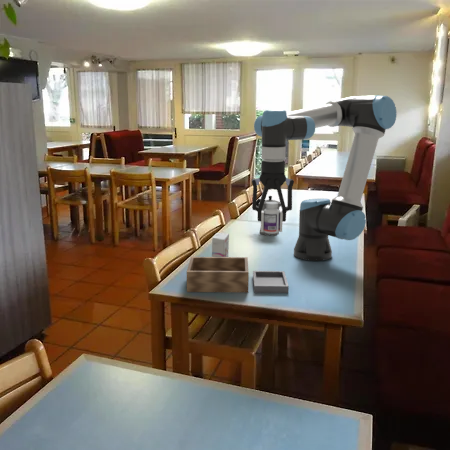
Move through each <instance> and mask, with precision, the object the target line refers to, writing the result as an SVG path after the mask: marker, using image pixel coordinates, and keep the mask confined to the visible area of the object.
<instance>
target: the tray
mask: <svg viewBox="0 0 450 450" xmlns="http://www.w3.org/2000/svg"><path fill="white" fill-rule="evenodd" d="M287 279H288V278H287V276H286V272H285V270H253V271H252V281H253V291H254V293H256V294H257V293H261V294H262V293H263V294H267V293H268V294H271V293H272V294H288V293H289V288H290V287H289V283H288V280H287Z"/></svg>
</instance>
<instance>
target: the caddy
mask: <svg viewBox="0 0 450 450" xmlns="http://www.w3.org/2000/svg"><path fill="white" fill-rule="evenodd" d="M188 262H189V263H188V265H187V269H186V293H247V294H248V293H249V274H250V273H249V260H248V257H247V256H245V257H243V256H241V257H240V256H238V257H237V256H236V257H235V256H231V257H229V256H228V257H212V256H191V257H190V259H189V261H188Z"/></svg>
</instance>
